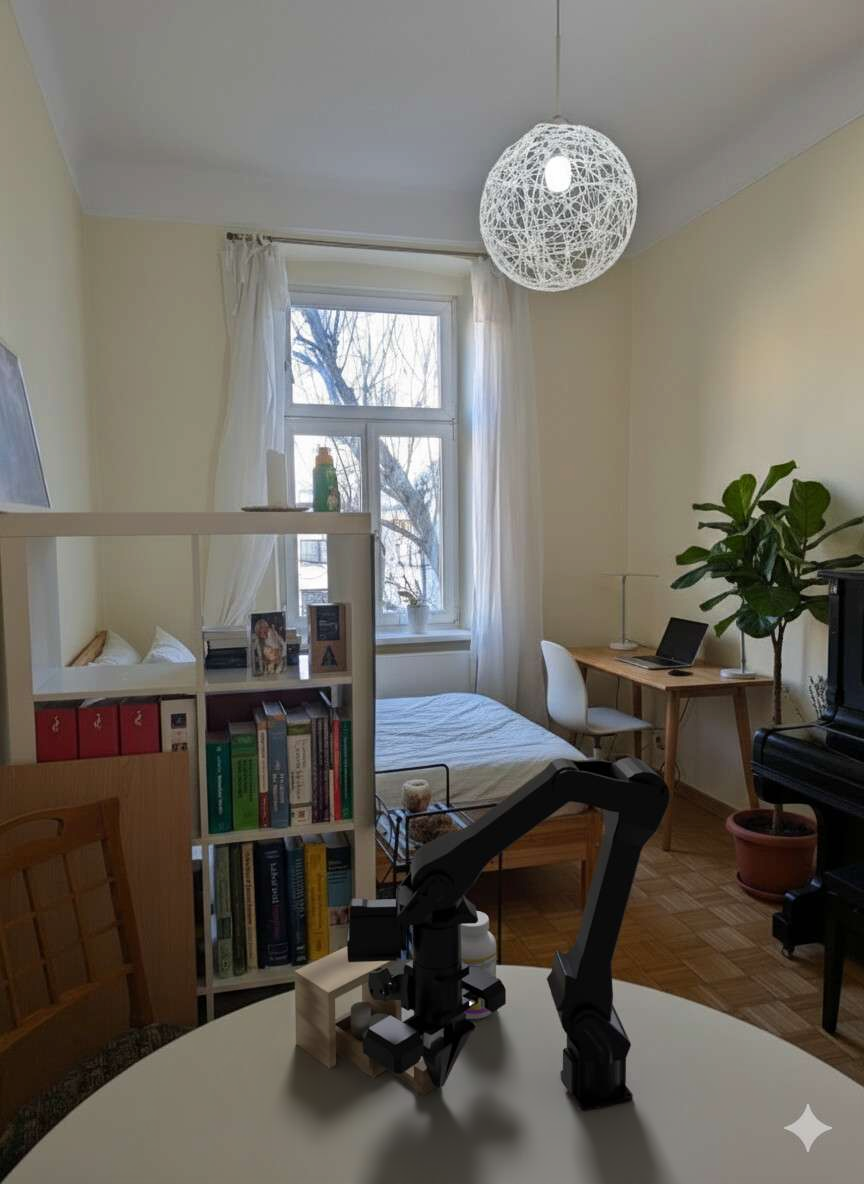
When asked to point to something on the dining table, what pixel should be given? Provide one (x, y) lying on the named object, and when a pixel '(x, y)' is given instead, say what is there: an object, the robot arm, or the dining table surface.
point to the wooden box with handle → (352, 1045)
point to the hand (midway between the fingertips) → (438, 1085)
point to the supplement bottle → (478, 955)
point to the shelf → (331, 1000)
